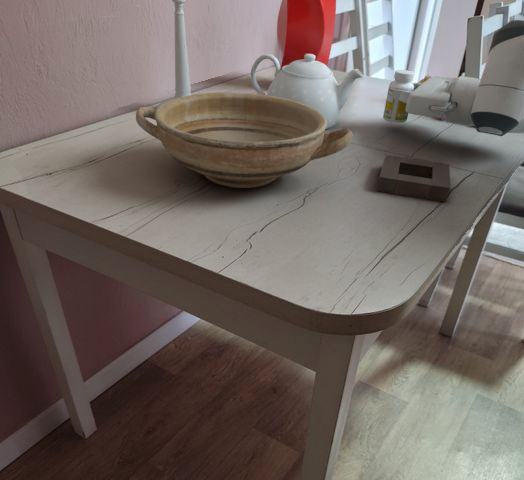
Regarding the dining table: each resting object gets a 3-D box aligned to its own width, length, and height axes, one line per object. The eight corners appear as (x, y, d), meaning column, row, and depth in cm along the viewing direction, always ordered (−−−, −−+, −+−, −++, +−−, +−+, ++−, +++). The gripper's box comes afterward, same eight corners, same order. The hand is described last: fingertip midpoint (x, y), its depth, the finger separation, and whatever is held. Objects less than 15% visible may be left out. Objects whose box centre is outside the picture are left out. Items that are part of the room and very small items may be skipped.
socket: (445, 177, 92) (449, 164, 90) (445, 202, 83) (450, 188, 81) (382, 167, 94) (385, 154, 92) (376, 191, 85) (379, 177, 83)
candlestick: (212, 105, 120) (210, -54, 100) (209, 120, 110) (206, -51, 90) (160, 102, 119) (147, -58, 99) (152, 118, 109) (137, -56, 89)
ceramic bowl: (347, 158, 96) (356, 103, 90) (339, 222, 75) (351, 156, 68) (167, 137, 100) (163, 83, 93) (110, 192, 79) (100, 127, 72)
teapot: (315, 107, 123) (322, 44, 114) (355, 129, 111) (367, 61, 102) (247, 112, 116) (249, 46, 107) (282, 137, 104) (288, 64, 95)
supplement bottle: (408, 118, 112) (419, 71, 105) (403, 125, 108) (414, 75, 102) (385, 114, 113) (395, 67, 107) (380, 120, 110) (389, 72, 103)
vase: (270, 82, 140) (277, -43, 122) (318, 82, 143) (331, -40, 125) (285, 96, 129) (295, -38, 111) (335, 95, 133) (353, -35, 114)
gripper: (446, 129, 98) (380, 116, 102) (464, 106, 112) (405, 96, 116) (456, 94, 93) (386, 83, 98) (473, 75, 107) (411, 66, 112)
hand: (396, 89), depth 107 cm, fingers closed on supplement bottle, 5 cm apart
